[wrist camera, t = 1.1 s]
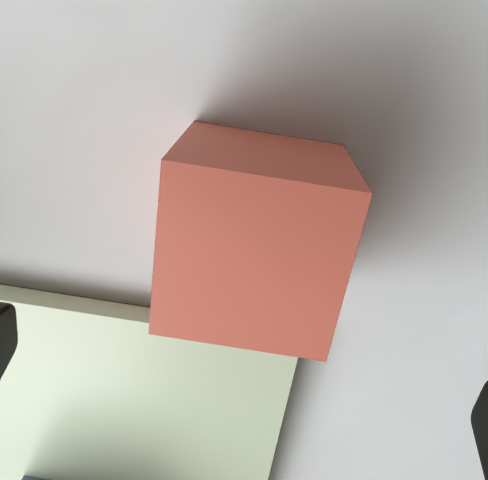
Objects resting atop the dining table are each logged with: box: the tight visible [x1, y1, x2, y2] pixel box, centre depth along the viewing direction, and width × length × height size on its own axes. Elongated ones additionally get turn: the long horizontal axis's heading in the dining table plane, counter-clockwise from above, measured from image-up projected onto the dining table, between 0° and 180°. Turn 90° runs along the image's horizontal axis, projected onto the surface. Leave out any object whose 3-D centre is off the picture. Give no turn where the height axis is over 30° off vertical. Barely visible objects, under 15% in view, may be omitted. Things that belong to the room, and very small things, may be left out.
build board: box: [0, 284, 298, 480], centre depth 21 cm, size 13×16×1 cm
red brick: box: [148, 121, 373, 362], centre depth 14 cm, size 5×5×5 cm
